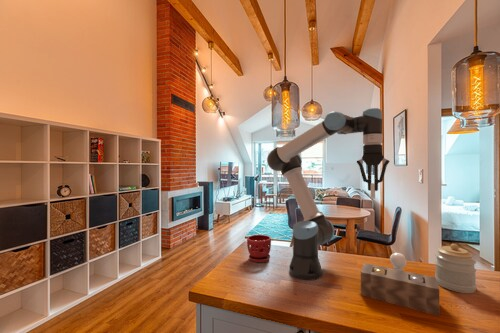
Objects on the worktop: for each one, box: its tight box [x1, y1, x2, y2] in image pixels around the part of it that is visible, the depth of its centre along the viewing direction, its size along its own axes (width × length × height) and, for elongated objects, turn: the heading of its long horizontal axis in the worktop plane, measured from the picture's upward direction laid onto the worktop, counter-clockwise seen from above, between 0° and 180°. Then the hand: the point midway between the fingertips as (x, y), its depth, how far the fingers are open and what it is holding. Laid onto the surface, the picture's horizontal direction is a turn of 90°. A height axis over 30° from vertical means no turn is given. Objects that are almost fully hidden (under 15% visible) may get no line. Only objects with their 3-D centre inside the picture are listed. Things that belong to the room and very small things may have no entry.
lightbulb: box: [389, 252, 408, 271], centre depth 105 cm, size 6×6×11 cm
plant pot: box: [246, 234, 272, 263], centre depth 127 cm, size 13×13×12 cm
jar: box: [434, 243, 477, 294], centre depth 98 cm, size 13×13×18 cm
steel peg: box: [410, 275, 423, 283], centre depth 85 cm, size 4×4×8 cm
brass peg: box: [374, 268, 385, 275], centre depth 92 cm, size 4×4×8 cm
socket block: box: [360, 262, 440, 317], centre depth 89 cm, size 24×10×9 cm, turn 57°
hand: (372, 198), depth 102 cm, fingers closed
